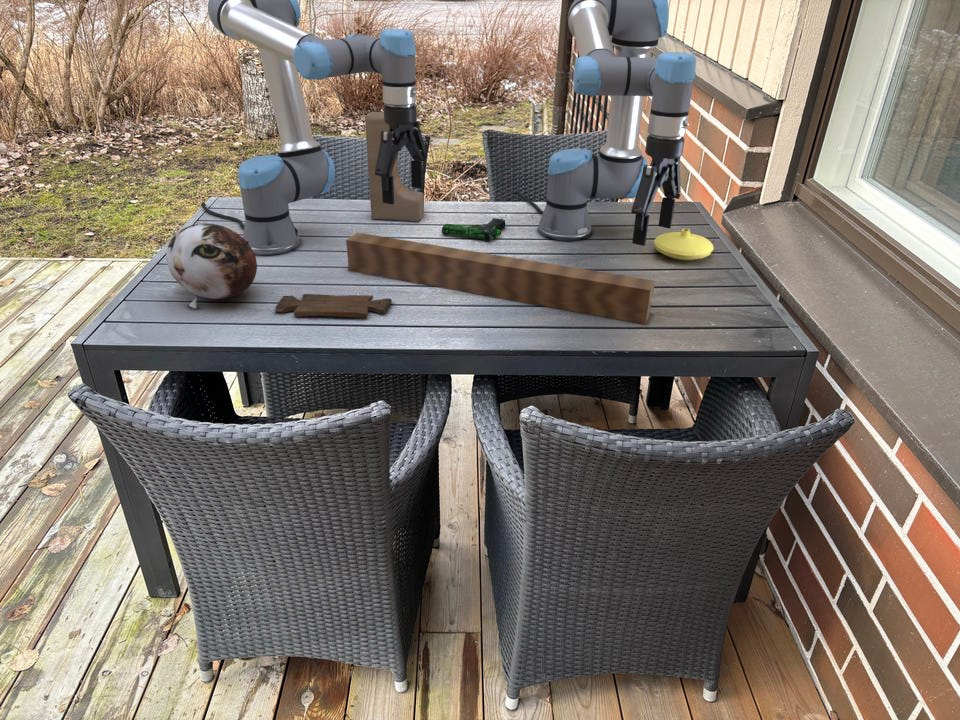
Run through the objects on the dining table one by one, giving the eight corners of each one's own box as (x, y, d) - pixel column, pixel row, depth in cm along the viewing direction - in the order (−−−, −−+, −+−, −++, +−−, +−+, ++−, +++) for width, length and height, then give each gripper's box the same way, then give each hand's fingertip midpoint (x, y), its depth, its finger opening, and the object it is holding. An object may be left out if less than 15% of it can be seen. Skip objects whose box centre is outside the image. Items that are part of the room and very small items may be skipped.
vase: (666, 239, 204) (669, 216, 201) (720, 252, 197) (724, 228, 193) (642, 256, 193) (646, 231, 190) (698, 270, 185) (703, 245, 182)
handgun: (511, 219, 210) (493, 234, 198) (511, 228, 211) (492, 244, 199) (461, 212, 215) (440, 226, 203) (461, 221, 217) (440, 236, 204)
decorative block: (419, 222, 214) (416, 119, 199) (370, 219, 216) (364, 116, 200) (424, 214, 220) (422, 113, 205) (377, 211, 222) (371, 111, 207)
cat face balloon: (130, 285, 161) (164, 203, 163) (192, 308, 177) (221, 233, 178) (195, 307, 151) (229, 220, 152) (254, 330, 166) (285, 250, 168)
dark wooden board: (386, 320, 160) (392, 301, 168) (386, 314, 159) (392, 294, 168) (271, 316, 160) (283, 297, 169) (270, 309, 159) (282, 290, 168)
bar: (348, 270, 183) (345, 239, 179) (359, 262, 187) (357, 232, 183) (645, 324, 160) (650, 290, 156) (649, 314, 164) (654, 280, 160)
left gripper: (385, 116, 152) (389, 212, 163) (440, 96, 171) (440, 183, 182) (355, 112, 154) (361, 207, 165) (412, 93, 174) (415, 179, 185)
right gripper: (658, 150, 134) (643, 256, 145) (706, 127, 152) (690, 223, 163) (622, 144, 138) (610, 247, 149) (672, 123, 156) (659, 217, 166)
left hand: (403, 195), depth 174 cm, fingers open, 13 cm apart
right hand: (652, 235), depth 156 cm, fingers open, 13 cm apart
